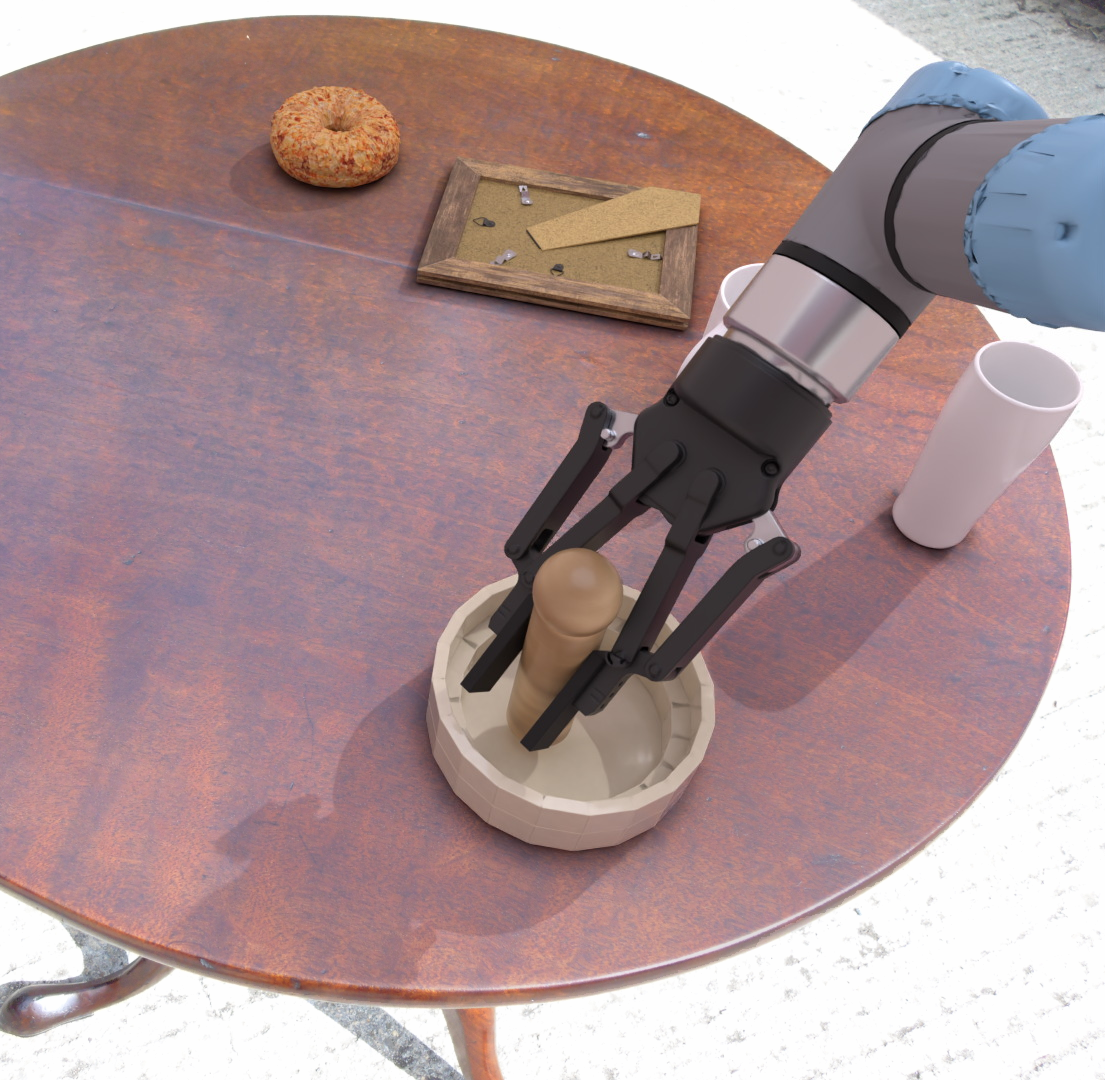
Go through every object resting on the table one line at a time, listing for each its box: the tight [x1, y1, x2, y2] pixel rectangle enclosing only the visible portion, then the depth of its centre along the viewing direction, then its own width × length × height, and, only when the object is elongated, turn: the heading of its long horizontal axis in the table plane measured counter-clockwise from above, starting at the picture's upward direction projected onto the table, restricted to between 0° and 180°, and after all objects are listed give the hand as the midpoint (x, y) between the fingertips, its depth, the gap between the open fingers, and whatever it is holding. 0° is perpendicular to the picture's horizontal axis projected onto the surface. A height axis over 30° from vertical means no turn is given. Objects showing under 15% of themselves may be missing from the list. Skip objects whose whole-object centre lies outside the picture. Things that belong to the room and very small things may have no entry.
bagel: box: [269, 85, 402, 189], centre depth 104 cm, size 13×14×5 cm
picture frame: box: [416, 155, 702, 332], centre depth 98 cm, size 19×2×24 cm
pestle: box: [506, 548, 624, 746], centre depth 59 cm, size 5×5×15 cm
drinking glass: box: [891, 339, 1084, 549], centre depth 73 cm, size 7×7×15 cm
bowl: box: [425, 573, 716, 852], centre depth 65 cm, size 17×17×6 cm
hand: (504, 715), depth 60 cm, fingers closed on pestle, 4 cm apart
